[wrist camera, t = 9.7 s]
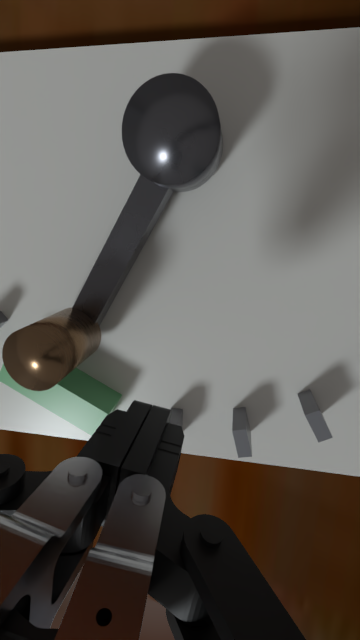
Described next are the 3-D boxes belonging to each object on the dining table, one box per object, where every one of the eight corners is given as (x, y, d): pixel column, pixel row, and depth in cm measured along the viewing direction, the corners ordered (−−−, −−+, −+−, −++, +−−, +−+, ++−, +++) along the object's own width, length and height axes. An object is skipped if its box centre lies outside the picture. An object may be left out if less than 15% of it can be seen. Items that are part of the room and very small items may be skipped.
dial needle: (166, 81, 17) (133, 14, 12) (240, 129, 17) (240, 83, 12) (42, 334, 22) (-20, 367, 17) (98, 370, 22) (54, 415, 17)
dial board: (-53, 69, 20) (-120, 32, 17) (505, 34, 16) (590, -28, 12) (-4, 416, 27) (-45, 447, 23) (403, 467, 22) (437, 517, 18)
